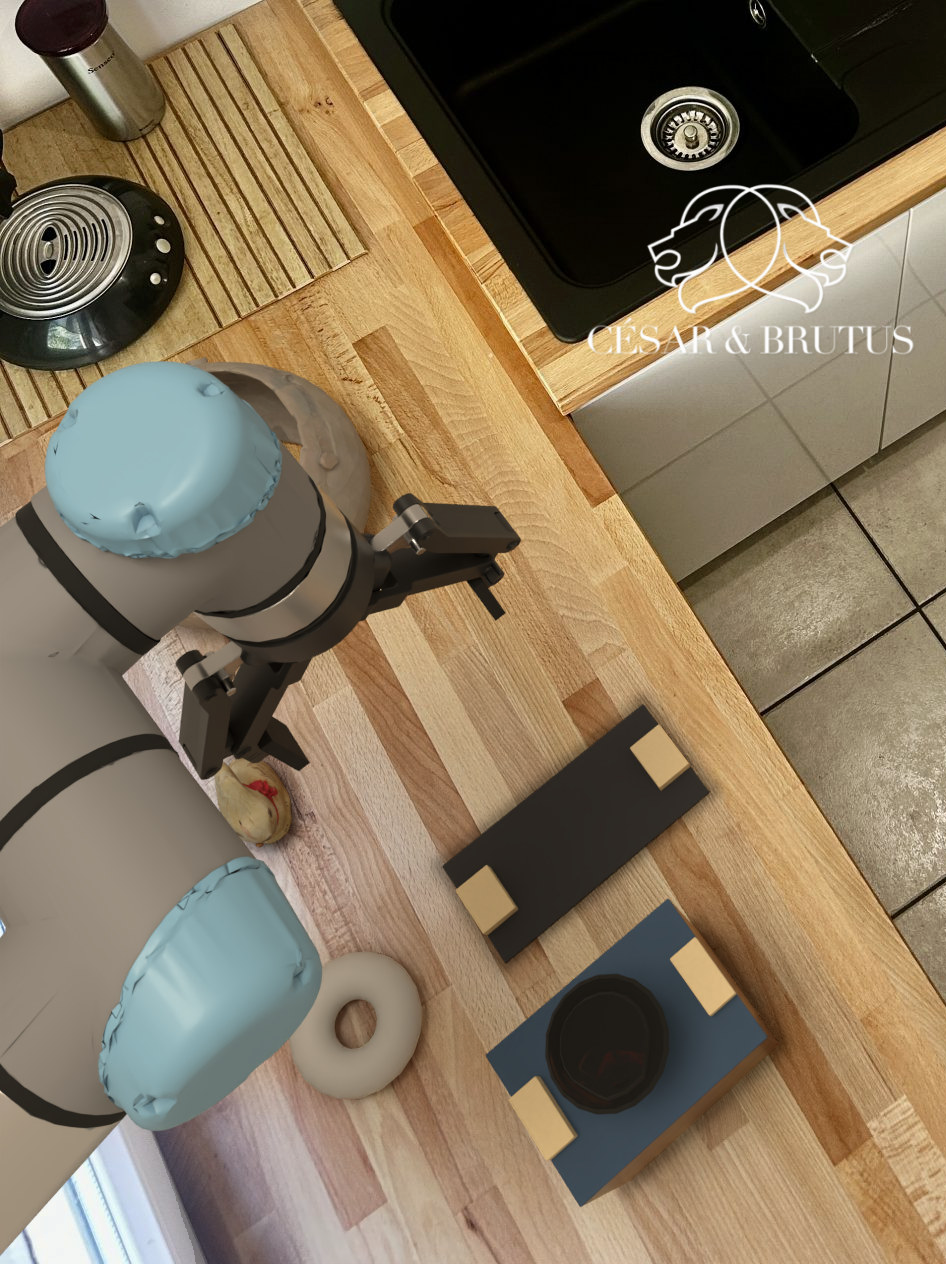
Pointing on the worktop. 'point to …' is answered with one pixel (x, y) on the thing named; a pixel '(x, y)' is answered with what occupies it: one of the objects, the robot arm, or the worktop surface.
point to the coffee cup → (607, 1044)
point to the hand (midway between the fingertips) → (392, 672)
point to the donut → (392, 1039)
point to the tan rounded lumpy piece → (253, 801)
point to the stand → (708, 1098)
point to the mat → (574, 832)
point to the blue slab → (697, 1060)
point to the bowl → (303, 435)
